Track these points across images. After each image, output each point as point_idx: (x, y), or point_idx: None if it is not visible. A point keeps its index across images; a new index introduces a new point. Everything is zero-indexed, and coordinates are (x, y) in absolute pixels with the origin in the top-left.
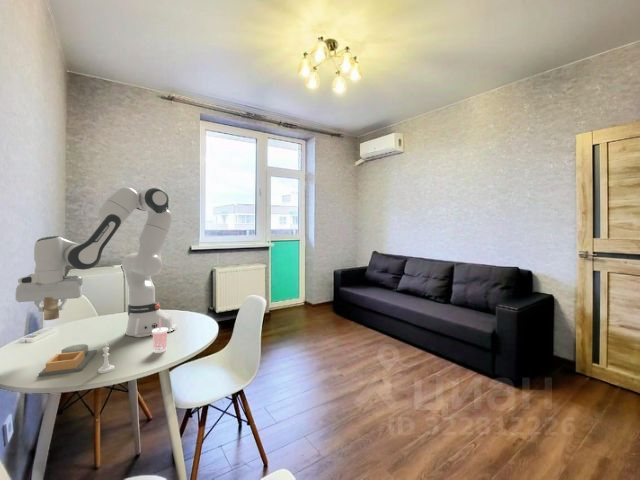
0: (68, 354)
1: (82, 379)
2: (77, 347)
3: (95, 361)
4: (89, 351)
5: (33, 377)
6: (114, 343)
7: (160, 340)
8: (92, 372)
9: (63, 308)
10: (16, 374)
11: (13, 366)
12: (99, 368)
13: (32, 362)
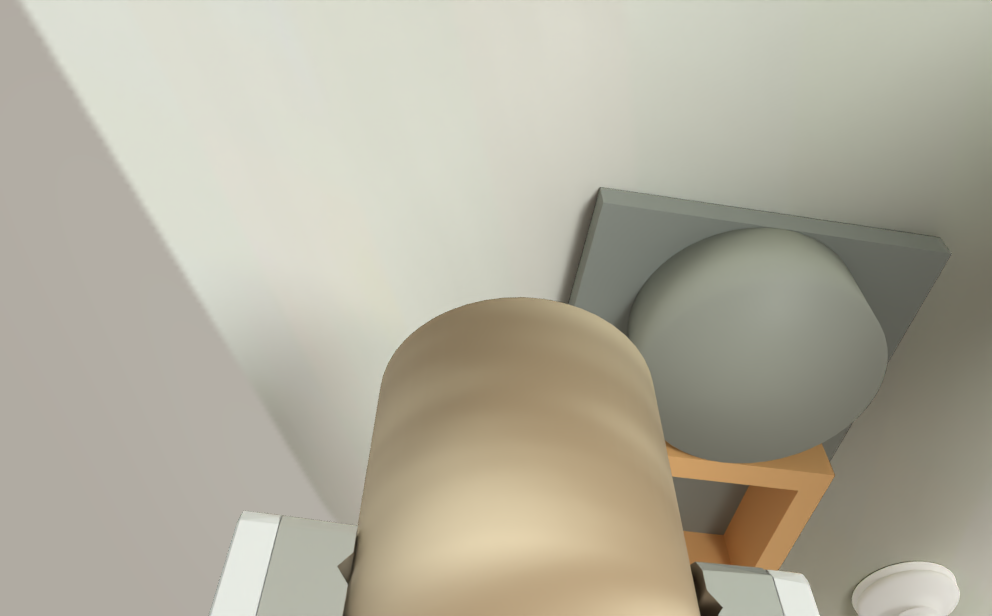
0: (701, 471)
1: None
2: (786, 368)
3: (875, 443)
4: (876, 269)
5: None
6: None
7: None
8: (822, 588)
9: (802, 594)
10: (340, 422)
11: (227, 244)
12: (870, 604)
13: (367, 222)
